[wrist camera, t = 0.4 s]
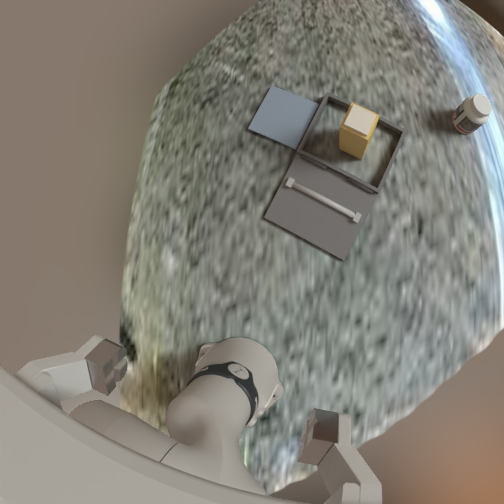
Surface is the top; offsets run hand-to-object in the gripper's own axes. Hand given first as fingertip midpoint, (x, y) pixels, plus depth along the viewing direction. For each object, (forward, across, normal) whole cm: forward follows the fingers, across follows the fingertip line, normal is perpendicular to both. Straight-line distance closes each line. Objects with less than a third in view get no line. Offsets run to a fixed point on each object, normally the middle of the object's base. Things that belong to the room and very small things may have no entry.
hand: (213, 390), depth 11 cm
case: (+47, +5, +6) cm, 48 cm away
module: (+49, +7, +12) cm, 51 cm away
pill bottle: (+50, +28, +23) cm, 62 cm away
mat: (+51, -6, +14) cm, 53 cm away
